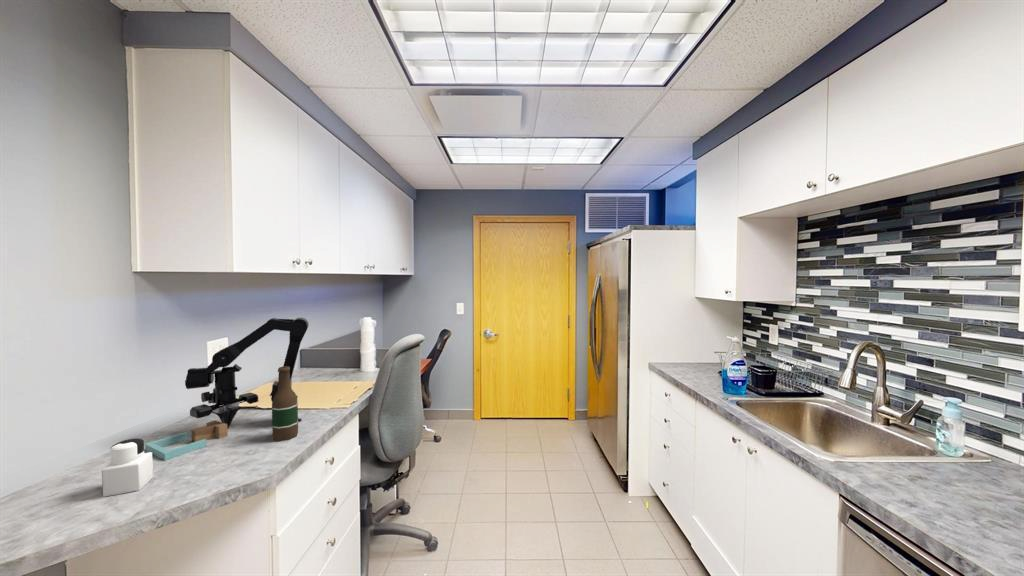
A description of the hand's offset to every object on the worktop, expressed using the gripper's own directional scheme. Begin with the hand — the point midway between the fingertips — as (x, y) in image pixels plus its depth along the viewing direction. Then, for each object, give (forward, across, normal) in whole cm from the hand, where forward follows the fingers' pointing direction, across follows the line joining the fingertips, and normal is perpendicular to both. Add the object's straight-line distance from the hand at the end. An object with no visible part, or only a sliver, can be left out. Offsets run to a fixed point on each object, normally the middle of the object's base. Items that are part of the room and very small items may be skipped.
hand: (226, 428), depth 131 cm
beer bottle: (+1, -7, +23) cm, 24 cm away
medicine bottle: (+1, +30, +17) cm, 34 cm away
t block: (+1, +6, 0) cm, 6 cm away
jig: (+1, +14, 0) cm, 14 cm away
